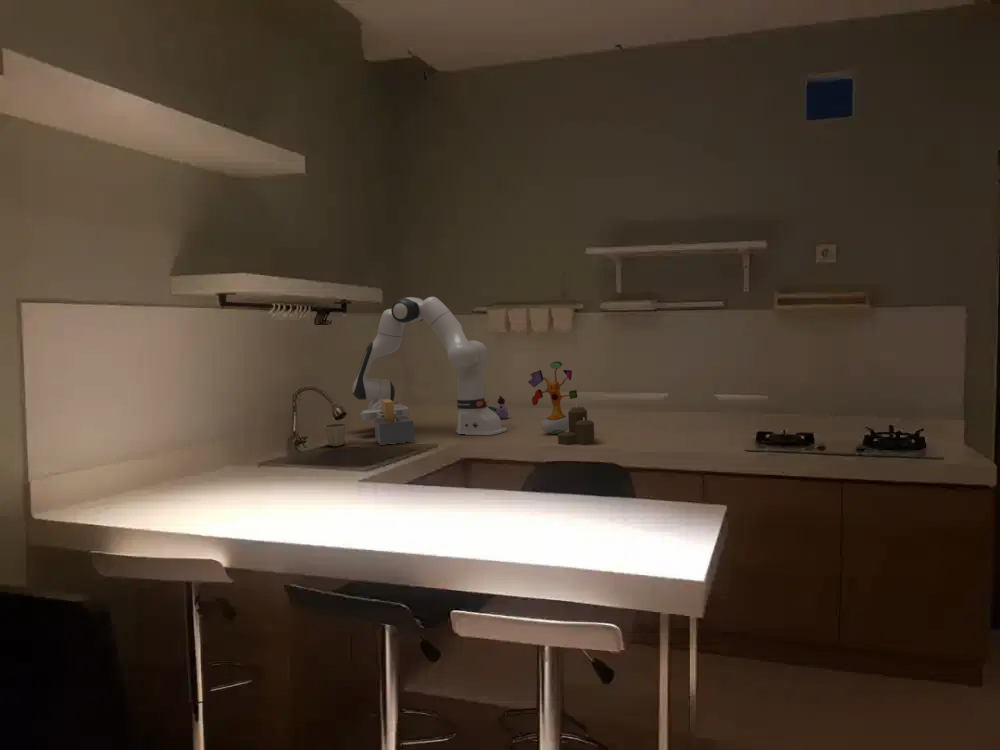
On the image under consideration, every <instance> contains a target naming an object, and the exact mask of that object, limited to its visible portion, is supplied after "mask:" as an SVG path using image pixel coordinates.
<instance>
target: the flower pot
mask: <svg viewBox="0 0 1000 750" xmlns="http://www.w3.org/2000/svg"><path fill="white" fill-rule="evenodd" d="M323 428H324V430H325V433H326V438H327V443H328V445H329V444H334V445H335V444H341V443H344V444H345V438H346V437H345V436H346V429H347V423H344V422H343V423H340V422H338V423H329V424H324V425H323Z"/></svg>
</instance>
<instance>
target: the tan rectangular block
mask: <svg viewBox="0 0 1000 750" xmlns="http://www.w3.org/2000/svg"><path fill="white" fill-rule="evenodd" d="M394 403H395V402H394V400H393V401H391V400H390V399H383V400H381V409H382V414H384V417H386V420H387V421H389V422H396V418H394Z"/></svg>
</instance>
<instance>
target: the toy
mask: <svg viewBox="0 0 1000 750" xmlns="http://www.w3.org/2000/svg"><path fill="white" fill-rule="evenodd" d="M505 401H506V399H505V398H504V397H502V395H499V396H498V399H497V403H498V404H499V405H496V406H493V405H489V404H487V407H488V408H489V409H490V410H492V411H493V412H494V413H495V414H496V415H498V416H499V418H500V420H505V419H508V417H509V412H508V409H509V408H508V407H507V406H506V405H505V403H506V402H505Z"/></svg>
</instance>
